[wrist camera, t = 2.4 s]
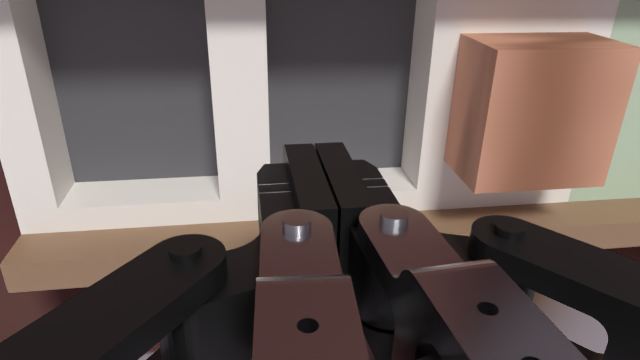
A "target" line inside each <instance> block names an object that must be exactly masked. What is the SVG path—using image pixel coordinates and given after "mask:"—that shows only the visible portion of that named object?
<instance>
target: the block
mask: <svg viewBox="0 0 640 360" xmlns="http://www.w3.org/2000/svg"><path fill="white" fill-rule="evenodd" d="M639 63H640V47H638V46H634V45H631V44H627V43H624V42H620V41H617V40H614V39H610V38H607V37H603V36H600V35H596V34H593V33H589V32H531V33H460V41H459V48H458V56H457V64H456V71H455V79H454V87H453V94H452V102H451V109H450V117H449V125H448V132H447V140H446V147H445V155H444V161H445V162H446V163H447V164H448V165H449V166H450V167H451V168H452V169H453V171H454V172H455V173H456V174H457V175H458V176H459V177H460V178H461V179H462V181H463V182H464V183H465V184H466V185H467V186H468V187H469V188H470V189H471V191H472V192H473V193H474V194H480V193H498V192H516V191H534V190H552V189H569V188H587V187H604V185H605V182H606V178H607V175H608V171H609V168H610V164H611V161H612V157H613V154H614V150H615V147H616V143H617V140H618V136H619V133H620V129H621V126H622V122H623V119H624V115H625V112H626V108H627V105H628V101H629V98H630V94H631V91H632V87H633V84H634V80H635V77H636V73H637V70H638V67H639Z"/></svg>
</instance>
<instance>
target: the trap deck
mask: <svg viewBox="0 0 640 360" xmlns="http://www.w3.org/2000/svg"><path fill="white" fill-rule="evenodd" d="M531 32H589V33H593V34H596V35H600V36H603V37H607V38H610V39H614V40H617V41H620V42H624V43H627V44H631V45H634V46H638V47H640V0H0V160H1V163H2V167H3V170H4V174H5V178H6V181H7V185H8V188H9V192H10V195H11V199H12V203H13V206H14V210H15V213H16V217H17V221H18V224H19V228H20V231H21V236H20V237H19V239H18V240H17V241H16V243H15V244H14V246H13V247H12V248H11V250H10V251H9V253H8V254H7V255H6V257H5V258H4V260H3V261H2V262H1V264H0V268H1V271H2V274H3V277H4V280H5V284H6V287H7V290H8V293H14V292H28V291H41V290H55V289H68V288H82V287H89V286H91V285H92V284H94V283H96V282H97V281H99V280H100V279H102V278H104V277H105V276H107V275H108V274H110V273H111V272H113V271H115V270H116V269H118V268H119V267H121V266H123V265H124V264H126V263H127V262H129V261H130V260H132V259H134V258H135V257H137V256H138V255H140V254H141V253H143V252H145V251H146V250H148V249H149V248H151V247H153V246H154V245H156V244H157V243H159V242H161V241H163V240H165V239H168V238H171V237H174V236H179V235H185V234H202V235H207V236H211V237H214V238H216V239H218V240H219V241H221V242H222V243H223V244H224V246H225V249H226V251H227V250H231V249H235V248H238V247H241V246H243V245H246V244H248V243H249V242H251V241H253V240H254V239H255V238H256V237H257V236H258V235H259V222H258V196H257V172H258V171H259V170H260V169H261V167H262V166H263V165H264V164H277V163H283V145H284V144H309V143H312V144H314V143H332V142H343V144H344V145H345V147H346V149H347V151H348V153H349V155H350V157H351V158H352V160H362V159H364V160H365V161H367V162H369V163H370V164H372V165H374V166H375V167H377V168H378V170H379V172H380V173H381V175H382V176H383V179H384V180H385V181H386V183H387V184H388V187H390V189H391V191H392V192H393V194H394V195H395V197H396V199H397V200H398V202H399V203H400V205H404V206H408V207H411V208H414V209H416V210H418V211H420V212H421V213H423V214H424V215H425V216H426V217H427V219H428V220H429V221H430V222H431V223H432V224H433V226H434V227H435V228H436V229H437V230H438V232H440V233H446V234H455V235H463V236H470V232H471V226H472V224H473V222H474V221H475V220H477V219H478V218H481V217H484V216H489V215H503V216H511V217H515V218H519V219H522V220H525V221H528V222H530V223H533V224H536V225H539V226H541V227H544V228H547V229H550V230H552V231H555V232H558V233H561V234H563V235H566V236H569V237H572V238H574V239H577V240H580V241H583V242H585V243H588V244H591V245H594V246H596V247H599V248H602V249H610V248H623V247H637V246H640V63H639V67H638V70H637V73H636V77H635V80H634V84H633V87H632V91H631V94H630V98H629V101H628V105H627V108H626V112H625V115H624V119H623V122H622V126H621V129H620V133H619V136H618V140H617V143H616V147H615V150H614V154H613V157H612V161H611V164H610V168H609V171H608V175H607V178H606V182H605V185H604V187H587V188H569V189H552V190H534V191H516V192H498V193H480V194H474V193H473V192H472V191H471V189H470V188H469V187H468V186H467V185H466V184H465V183H464V182H463V181H462V179H461V178H460V177H459V176H458V175H457V174H456V173H455V172H454V171H453V169H452V168H451V167H450V166H449V165H448V164H447V163H446V162H445V161H444V155H445V147H446V140H447V132H448V125H449V117H450V109H451V102H452V94H453V87H454V79H455V71H456V64H457V56H458V48H459V41H460V33H531Z"/></svg>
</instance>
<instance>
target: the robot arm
mask: <svg viewBox="0 0 640 360" xmlns="http://www.w3.org/2000/svg"><path fill="white" fill-rule="evenodd" d="M257 196H258V222H259V235H258V236H257V237H256V238H255V239H254V240H253V241H251V242H249V243H248V244H246V245H243V246H241V247H238V248H235V249H231V250H227V251H226V249H225V246H224V244H223V243H222V242H221V241H219V240H218V239H216V238H214V237H211V236H207V235H202V234H185V235H179V236H174V237H171V238H168V239H165V240H163V241H161V242H159V243H157V244H156V245H154V246H153V247H151V248H149V249H148V250H146V251H145V252H143V253H141V254H140V255H138V256H137V257H135V258H134V259H132V260H130V261H129V262H127V263H126V264H124V265H123V266H121V267H119V268H118V269H116V270H115V271H113V272H111V273H110V274H108V275H107V276H105V277H104V278H102V279H100V280H99V281H97V282H96V283H94V284H92V285H91V286H89V287H88V288H86V289H85V290H83V291H81V292H80V293H78V294H77V295H75V296H74V297H72V298H70V299H69V300H67V301H66V302H64V303H62V304H61V305H59V306H58V307H56V308H55V309H53V310H51V311H50V312H48V313H47V314H45V315H43V316H42V317H40V318H39V319H37V320H36V321H34V322H32V323H31V324H29V325H28V326H26V327H25V328H23V329H21V330H20V331H18V332H17V333H15V334H13V335H12V336H10V337H9V338H7V339H6V340H4V341H2V342H1V343H0V360H138V359H139V358H140V357H141V356H143V355H144V354H145V353H146V352H147V351H149V350H150V349H151V348H152V347H153V346H154V345H156V344H157V343H158V342H159V344H160V348H159V349H158V350H157V351H156V352H155V353H153V354H152V355H151V356H150V357H149V358H148V359H147V360H640V262H638V261H635V260H632V259H630V258H627V257H624V256H621V255H619V254H616V253H613V252H610V251H608V250H605V249H602V248H599V247H596V246H594V245H591V244H588V243H585V242H583V241H580V240H577V239H574V238H572V237H569V236H566V235H563V234H561V233H558V232H555V231H552V230H550V229H547V228H544V227H541V226H539V225H536V224H533V223H530V222H528V221H525V220H522V219H519V218H515V217H511V216H503V215H489V216H484V217H481V218H478V219H477V220H475V221H474V222H473V224H472V226H471V232H470V236H463V235H455V234H446V233H440V232H438V230H437V229H436V228H435V227H434V226H433V224H432V223H431V222H430V221H429V220H428V219H427V217H426V216H425V215H424V214H423V213H421V212H420V211H418V210H416V209H414V208H411V207H408V206H404V205H400V203H399V202H398V200H397V199H396V197H395V195H394V194H393V192H392V191H391V189H390V187H388V184H387V183H386V181H385V180H384V179H383V176H382V175H381V173H380V172H379V170H378V168H377V167H375V166H374V165H372V164H370V163H369V162H367V161H365V160H364V159H362V160H352V158H351V157H350V155H349V153H348V151H347V149H346V147H345V145H344V144H343V142H332V143H314V144H312V143H309V144H284V145H283V163H277V164H264V165H263V166H262V167H261V169H260V170H259V171H258V172H257ZM534 292H538V293H540V294H542V295H545V296H547V297H549V298H551V299H553V300H556V301H558V302H560V303H562V304H565V305H567V306H569V307H572V308H574V309H576V310H578V311H580V312H583V313H585V314H587V315H590V316H591V317H593V318H595V319H596V320H598V321H599V322H600V323H601V324H602V325H603V326H604V328H605V329H606V331H607V334H608V344H607V347H606V350H605V353H604V354H600V353H595V352H593V351H591V350H589V349H587V348H584V347H582V346H580V345H578V344H576V343H574V342H572V341H570V340H569V339H568V338H567V337H566V336H565V335H564V334H563V333H562V332H561V331H560V330H559V329H558V328H557V327H556V326H555V325H554V323H553V322H552V321H551V320H550V319H549V318H548V317H547V316H546V315H545V314H544V313H543V312H542V311H541V310H540V309H539V308H538V306H537V305H536V304H535V303H534V302H533V301H532V300H533V297H534Z"/></svg>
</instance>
